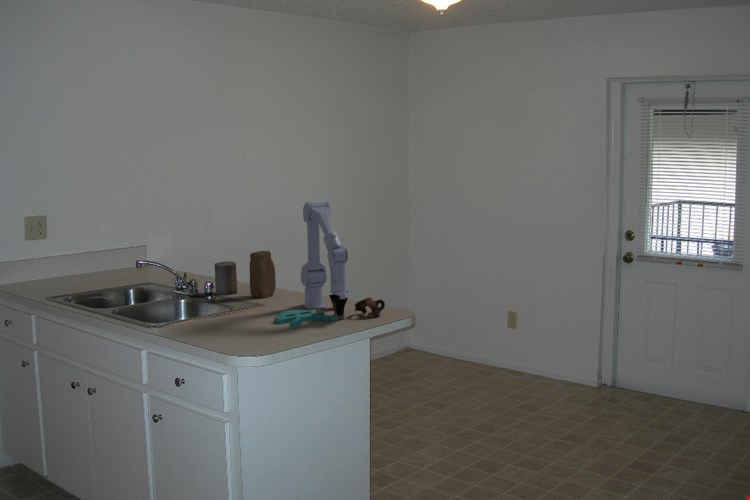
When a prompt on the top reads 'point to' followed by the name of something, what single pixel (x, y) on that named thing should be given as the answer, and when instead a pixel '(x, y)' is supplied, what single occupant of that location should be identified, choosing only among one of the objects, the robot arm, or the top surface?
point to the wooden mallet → (330, 310)
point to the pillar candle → (225, 278)
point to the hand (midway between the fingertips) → (338, 314)
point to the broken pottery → (372, 304)
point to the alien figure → (302, 317)
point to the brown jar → (262, 274)
